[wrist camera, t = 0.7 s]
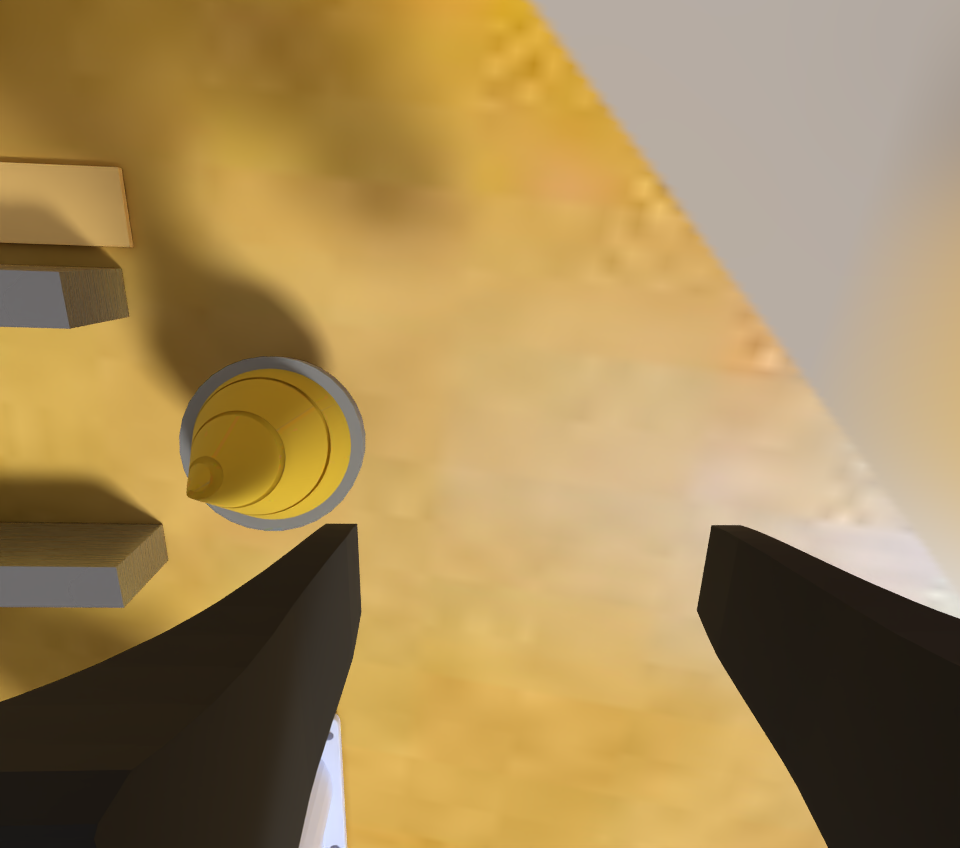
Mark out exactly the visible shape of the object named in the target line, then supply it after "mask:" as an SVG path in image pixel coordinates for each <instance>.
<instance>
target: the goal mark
mask: <svg viewBox="0 0 960 848" xmlns="http://www.w3.org/2000/svg"><path fill="white" fill-rule="evenodd" d="M0 242H1V243H29V244H57V245H84V246H112V247H133V241H132V234H131V228H130V221H129V214H128V208H127V201H126V195H125V188H124V181H123V175H122V168H119V167H102V166H78V165H55V164H32V163H9V162H0Z"/></svg>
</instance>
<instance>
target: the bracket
mask: <svg viewBox="0 0 960 848" xmlns="http://www.w3.org/2000/svg"><path fill="white" fill-rule="evenodd" d="M125 317H129V312H128V306H127V300H126V294H125V287H124V281H123V275H122V269H120V268H91V267H62V266H33V265H3V264H0V327H31V328H66V329H70V328H75V327H80V326H85V325H90V324H95V323H100V322H105V321H110V320H115V319H120V318H125ZM167 561H168V556H167V550H166V544H165V537H164V531H163V525H162V524H87V523H5V522H0V607H109V608H124V607H125V606H126V605H127V604H128V603H129V602H130V601H131V599H132V598H133V597H134V596H135V595H136V594H137V593H138V592H139V591H140V590H141V589H142V588H143V587H144V586H145V585H146V583H147V582H148V581H149V580H150V579H151V578H152V577H153V576H154V575H155V574H156V573H157V572H158V571H159V570H160V569H161V567H162V566H163V565H164V564H165V563H166V562H167Z"/></svg>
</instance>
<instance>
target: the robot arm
mask: <svg viewBox="0 0 960 848" xmlns="http://www.w3.org/2000/svg"><path fill="white" fill-rule="evenodd" d="M697 612H698V614H699V617H700V619H701V621H702V624H703V626H704V628H705V631H706V633H707V636H708V638H709V640H710V642H711V644H712V646H713V648H714V650H715V653H716V655H717V656H718V658H719V660H720V661H721V663H722V665H723V667H724V668H725V670H726V671H727V673H728V675H729V676H730V678H731V680H732V681H733V683H734V684H735V686H736V688H737V689H738V691H739V693H740V694H741V696H742V697H743V699H744V700H745V702H746V704H747V705H748V707H749V708H750V710H751V712H752V713H753V715H754V716H755V718H756V720H757V721H758V723H759V724H760V726H761V727H762V729H763V731H764V732H765V734H766V735H767V737H768V739H769V740H770V742H771V743H772V745H773V747H774V748H775V750H776V751H777V753H778V755H779V756H780V758H781V759H782V761H783V763H784V764H785V766H786V768H787V770H788V771H789V773H790V775H791V777H792V778H793V780H794V782H795V783H796V785H797V787H798V789H799V791H800V793H801V795H802V797H803V799H804V801H805V803H806V805H807V807H808V809H809V811H810V813H811V815H812V817H813V819H814V820H815V822H816V824H817V826H818V828H819V830H820V832H821V834H822V836H823V838H824V840H825V842H826V844H827V846H828V848H960V619H959V618H956V617H953V616H951V615H948V614H945V613H942V612H940V611H937V610H934V609H932V608H929V607H927V606H924V605H922V604H919V603H917V602H914V601H912V600H909V599H907V598H905V597H902V596H900V595H898V594H895V593H893V592H891V591H888V590H886V589H884V588H881V587H879V586H876V585H874V584H872V583H870V582H867V581H865V580H863V579H861V578H859V577H856V576H854V575H852V574H850V573H848V572H845V571H843V570H841V569H839V568H837V567H835V566H832V565H830V564H828V563H826V562H824V561H822V560H820V559H818V558H815V557H813V556H811V555H809V554H807V553H805V552H803V551H801V550H798V549H796V548H794V547H792V546H790V545H788V544H786V543H784V542H781V541H779V540H777V539H775V538H772V537H770V536H768V535H766V534H763V533H761V532H758V531H756V530H753V529H750V528H747V527H744V526H741V525H712V526H711V532H710V538H709V543H708V549H707V555H706V561H705V566H704V572H703V578H702V584H701V590H700V595H699V601H698V607H697ZM360 616H361V595H360V574H359V553H358V532H357V524H325V525H324V526H322V527H321V528H319V529H318V530H317V531H315V532H314V533H313V534H311V535H310V536H309V537H307V538H306V539H305V540H304V541H302V542H301V543H300V544H299V545H297V546H296V547H295V548H293V549H292V550H291V551H290V552H288V553H287V554H286V555H284V556H283V557H282V558H280V559H279V560H278V561H276V562H275V563H274V564H272V565H271V566H270V567H268V568H267V569H266V570H264V571H263V572H261V573H260V574H258V575H257V576H256V577H254V578H253V579H251V580H250V581H248V582H247V583H245V584H244V585H242V586H241V587H239V588H238V589H236V590H235V591H234V592H232V593H231V594H229V595H228V596H226V597H225V598H223V599H222V600H220V601H218V602H217V603H215V604H214V605H212V606H210V607H209V608H207V609H205V610H204V611H202V612H200V613H199V614H197V615H195V616H193V617H191V618H190V619H188V620H186V621H184V622H182V623H181V624H179V625H177V626H175V627H173V628H172V629H170V630H168V631H166V632H164V633H162V634H160V635H158V636H156V637H154V638H152V639H150V640H148V641H145V642H143V643H141V644H139V645H137V646H135V647H133V648H131V649H129V650H126V651H124V652H122V653H120V654H118V655H116V656H114V657H112V658H109V659H107V660H105V661H103V662H101V663H99V664H96V665H94V666H92V667H89V668H87V669H85V670H82V671H80V672H77V673H75V674H72V675H70V676H68V677H65V678H63V679H60V680H58V681H55V682H53V683H50V684H47V685H45V686H42V687H39V688H37V689H34V690H32V691H29V692H26V693H24V694H21V695H18V696H16V697H13V698H10V699H7V700H4V701H2V702H0V848H347V835H346V817H345V799H344V780H343V762H342V744H341V726H340V718H339V716H338V715H337V714H335V713H336V710H337V707H338V704H339V701H340V697H341V694H342V691H343V688H344V685H345V682H346V678H347V675H348V672H349V669H350V665H351V662H352V659H353V654H354V649H355V644H356V639H357V633H358V628H359V622H360ZM329 732H331V733H329Z"/></svg>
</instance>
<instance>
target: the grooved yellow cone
mask: <svg viewBox="0 0 960 848" xmlns="http://www.w3.org/2000/svg"><path fill="white" fill-rule="evenodd" d="M179 439H180V455H181V459H182V464H183V468H184V471H185V473H186V475H187V477H188V482H187V496H188V497H189V498H192V499H195V500H198V501H201V502H205V503H206V504H207V505H208V506H209V507H210V508H212V509H213V510H214V511H215V512H216V513H218V514H219V515H221V516H223V517H224V518H226V519H228V520H229V521H231V522H234V523H236V524H239V525H242V526H245V527H247V528H252V529H258V530H264V531H283V530H288V529H293V528H299V527H302V526H304V525H307V524H309V523H312V522H314V521H317V520H318V519H320V518H321V517H323V516H324V515H326V514H328V513H329V512H331V511H332V510H333V509H334V508H335V507H336V506H337V505H338V504H339V503H340V502H341V501H342V500H343V499H344V497H345V496H346V495H347V493H348V492H349V490H350V489H351V487H352V486H353V484H354V482H355V480H356V477H357V475H358V473H359V471H360V468H361V466H362V462H363V457H364V453H365V430H364V425H363V420H362V417H361V414H360V412H359V409H358V407H357V405H356V402H355V401H354V399H353V398H352V396H351V395H350V394H349V392H348V391H347V389H346V388H345V387H344V386H343V385H342V384H341V383H340V382H339V381H338V380H337V379H336V378H335V377H333V376H332V375H331V374H329V373H328V372H326V371H325V370H323V369H322V368H320V367H318V366H315V365H313V364H311V363H308V362H306V361H302V360H298V359H293V358H289V357H264V356H263V357H256V358H250V359H244V360H242V361H239V362H236V363H234V364H231V365H228V366H226V367H225V368H223V369H222V370H220V371H218V372H217V373H215V374H214V375H212V376H211V377H210V378H209V379H208V380H207V381H206V382H205V383H204V384H203V385H201V386H200V387H199V389H198V390H197V392H196V393H195V395H194V396H193V397H192V399H191V400H190V402H189V404H188V406H187V409H186V411H185V414H184V416H183V419H182V424H181V430H180V435H179Z"/></svg>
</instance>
